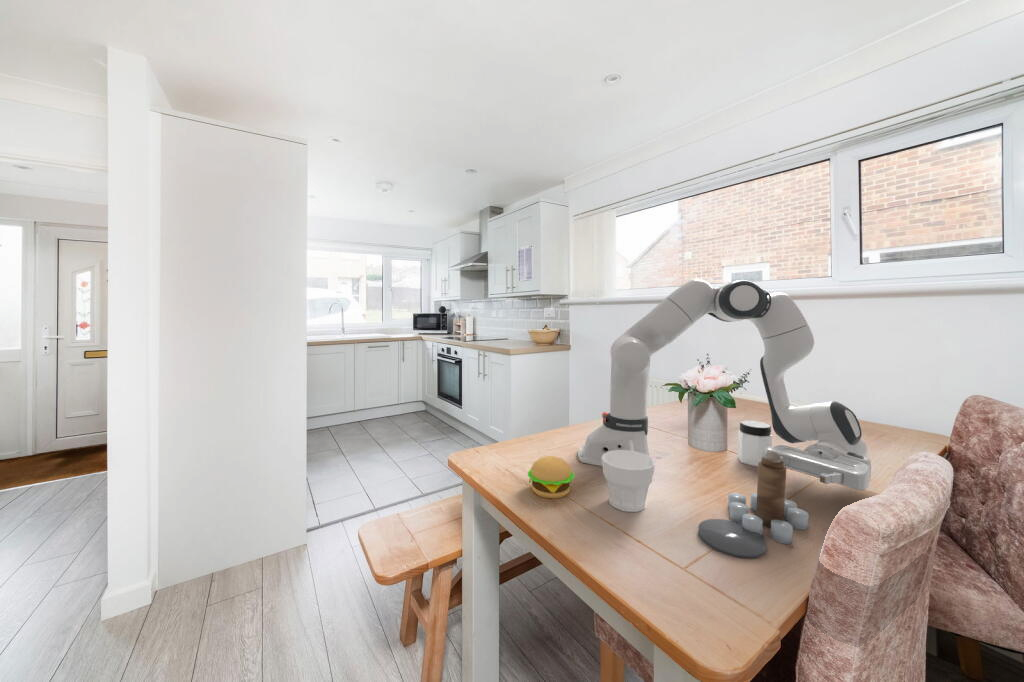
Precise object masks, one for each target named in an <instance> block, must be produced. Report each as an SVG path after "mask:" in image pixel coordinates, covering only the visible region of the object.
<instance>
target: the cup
mask: <svg viewBox="0 0 1024 682" xmlns="http://www.w3.org/2000/svg"><path fill="white" fill-rule="evenodd" d="M601 458H602V466H601V467H602V473H603V476H604V477H605V480H606V481H607V482H606V483H607V486H608V491H609V492H608V493H609V497H608V502H609V504H610V505H611V506H612V507H614V508H615V509H617V510H619V511H622V512H627V513H638V512H641V511H643V510H644V509H645V508H646V500H647V495H648V492H649V487H650V485H651V484H652V482H653V478H654V477H653V476H654V472H655V471H654V470H655V467H656V461H655V460H654V459H653V457H651V456H650V457H649V456H647V455H645V454H642V453H639V452H635V451H628V450H614V451H609V452H606V453H604V454H603V455H602V457H601Z"/></svg>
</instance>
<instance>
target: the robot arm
mask: <svg viewBox="0 0 1024 682" xmlns="http://www.w3.org/2000/svg"><path fill="white" fill-rule="evenodd" d="M706 315H709V316H712V317H713V318H715V319H716V320H719V321H722V322H727V323H731V322H739V321H743V320H747V321H750V322H751V323H753V324H754V326H755V327H756V328H757V330H758V332H759V334H760V335H759V336H760V337H761V339H762V342H763V345H764V353H763V356H762V357H761V358H760V360H759V367H760V373H761V378H762V382H763V385H764V389H765V394H766V397H767V402H768V405H769V409H770V415H771V426H772V429H773V431H774V433H775V434H776V436H778V437H779V438H780V439H782V440H784V441H785V442H787V443H789V444H797V443H805V442H809V441H814V443H811V444H810V445H807V446H806V447H805V449H800V448H796V447H791V446H788V445H780V444H778V445H772V446H771V447H768V448H766V450H765V454H766V453H767V452H769V451H774V452H776V453H778V454H779V455H780V457H781V460H782V461H783V462H784V466H785V467H786V469H789V470H792V471H795V472H799V473H802V474H805V475H809V476H812V477H815V478H817V479H819V482H820V483H822V484H826V485H830V484H837V485H841V486H845V487H847V488H851V489H854V490H857V491H865V490H867V489H868V488H869V487H870V482H871V477H872V462H871V459H870V458H868V453H869V451H868V450H869V449H868V447H867V444H866V442H864V441H863V439H862V434H863V433H862V428H861V425H860V422H859V420H858V418H857V416H856V414H855V413H854V411H852V410H851V409H850V408H849V407H847V406H845V405H844V404H842V403H840V402H838V401H835V400H833V401H826V402H819V403H812V404H805V405H798V406H794V405H792V403H790V399H789V395H788V392H787V388H786V385H785V380H784V379H785V378H784V377H785V374H786V372H787V371H788V370H789V369H791V368H792V367H794V366H795V365H797V364H798V363H801V361H803V360H804V359H806V358H807V357H808V356H809V355H810V353H811V352H812V350H813V349H814V347H815V346H814V345H815V338H814V334H813V333H812V330H811V328H810V325H809V323H808V322H807V320H806V318H805V316H804V314H803V313H802V311H801V309H800V308H799V306H798V305H797V303H796V302H795V301H794V300H793V299H792V297H791V296H789V295H788V294H786V293H783V292H772V293H769V292H768V291H766V290H764V289H763V288H761V286H759V285H758V284H756V283H755V282H752V281H751V280H745V279H739V280H734V281H731V282H729V283H727V284H725V285H723V286H722V285H721V286H720V287H715V286H712V284H710V283H709V282H708V281H706V280H703V279H700V278H693V279H691V280H688V281H687V282H685V283H684V284H681V285H680V286H679V287H678V288H677V289H675V290H673V291H672V292H671V293H670V294H669V295H668V296H666V297H665V298H664V299H663V300H662V301H661V302H660V303H659V304H657V305H656V306H655V307H654V308H653V309H652V310H651V311H649V312H648V313H647V314H646V315H644V317H642V318H641V319H640V320H638V321H637V322H636V323H634V325H632V326H631V327H630V328H629V329H627V330H626V331H625V332H624V333H622V334H621V335H620V336H619V337H617V338H616V339H615V340H614V341H613V343H612V345H611V346H610V358H611V359H610V361H611V362H610V363H611V365H610V391H609V398H610V399H609V412H607V411H603V412H602V414H601V417H602V425H600V426H599V427H597V428H595V429H594V430H593V431H591V432H590V433H589V434H588V435H587V436H586V439H585V442H584V445H583V446H581V447H580V448H579V449H578V451H577V459H578V461H579V462H581V463H584V464H588V465H593V466H599V467H603V466H602V458H601V457H602V455H603V454H604V453H606V452H609V451H614V450H628V451H635V452H639V453H642V454H645V455H647V456H649V457H651V455H650V453H649V452H650V451H649V446H648V437H647V436H648V432H649V417H648V415H647V411H648V410H647V409H648V408H647V407H648V406H647V405H648V389H649V388H648V387H649V379H650V377H649V376H650V366H651V357H652V356H653V355H654V354H657V352H658V351H660V350H661V349H664V348H665V347H666V346H668V345H670V344H671V343H673V342H674V341H675V340H676V339H677V338H678V337H680V336H681V335H682V334H683V333H684V332H685V331H687V330H688V329H689V328H690V327H692V326H693V325H694V324H695V323H696V322H697V321H698V320H700V319H701V318H702V317H704V316H706ZM815 441H817V442H815Z"/></svg>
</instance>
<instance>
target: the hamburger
mask: <svg viewBox="0 0 1024 682" xmlns="http://www.w3.org/2000/svg"><path fill="white" fill-rule="evenodd" d="M527 476H528V478H529V479H528V480H529V481H528V483H529V484H530V485H531V490H532V491H533V493H535V494H536V495H538V496H539V497H541V498H544V499H559V498H563V497H566V496H567V495H569V492H570V491H571V484H572V483H574V482H573V480H574V479H575V473H574V472H573V470H572V468H571V467H570V464H569V463H568V462H567V461H565V460H564V459H563V458H561V457H558V456H553V455H546V456H543V457H539V458H538V459H537V460H536V461H534V462H533V464H532V466H531V468H530V469H529V471H527Z"/></svg>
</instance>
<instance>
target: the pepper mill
mask: <svg viewBox="0 0 1024 682" xmlns="http://www.w3.org/2000/svg"><path fill="white" fill-rule="evenodd" d="M786 481H787V468H786V467H785V466H784V462H783V461H782V460H781V457H780V455H779V454H778V453H776V452H774V451H769V452H767V453H766V454H765V455H764V457H762V458H761V461H760V462H759V463H758V467H757V488H756V493H757V506H756V511H755V516H758V517H760V518H761V519H762V520H763V524H762V527H765V528H766V529H770V530H771V521H772V520H782V521H785V518H784V504H785V499H786V483H787V482H786Z"/></svg>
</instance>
